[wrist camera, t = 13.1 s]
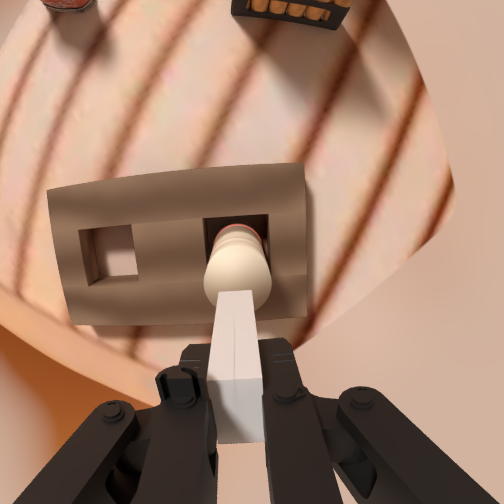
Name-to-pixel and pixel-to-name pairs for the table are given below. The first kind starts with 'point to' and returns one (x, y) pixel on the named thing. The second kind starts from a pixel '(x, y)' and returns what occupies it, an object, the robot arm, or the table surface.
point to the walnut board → (177, 241)
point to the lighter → (68, 5)
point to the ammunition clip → (295, 11)
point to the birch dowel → (238, 264)
